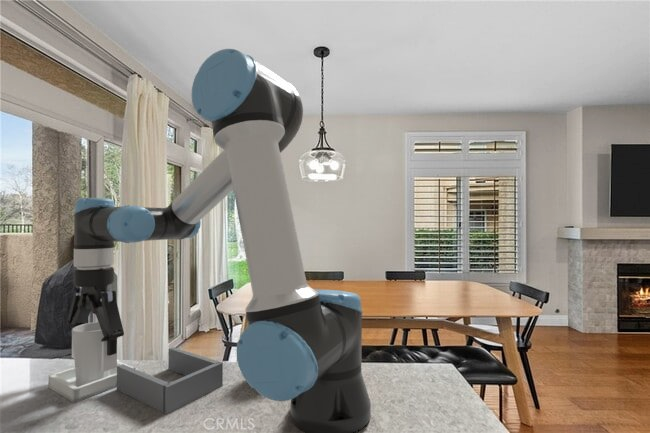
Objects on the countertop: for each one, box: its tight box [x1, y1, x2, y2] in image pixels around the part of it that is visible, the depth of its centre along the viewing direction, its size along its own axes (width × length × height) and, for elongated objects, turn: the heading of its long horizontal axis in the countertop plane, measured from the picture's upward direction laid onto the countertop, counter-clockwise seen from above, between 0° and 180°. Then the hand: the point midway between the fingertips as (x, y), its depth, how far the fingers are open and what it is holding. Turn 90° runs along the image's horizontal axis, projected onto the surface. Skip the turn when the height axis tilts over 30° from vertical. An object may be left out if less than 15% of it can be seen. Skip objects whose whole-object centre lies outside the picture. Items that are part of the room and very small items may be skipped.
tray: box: [47, 360, 137, 404], centre depth 78 cm, size 12×12×3 cm
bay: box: [116, 346, 224, 415], centre depth 76 cm, size 18×13×5 cm
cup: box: [71, 321, 110, 387], centre depth 78 cm, size 8×8×12 cm
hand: (93, 362), depth 78 cm, fingers open, 13 cm apart
